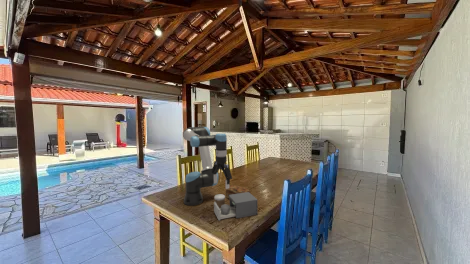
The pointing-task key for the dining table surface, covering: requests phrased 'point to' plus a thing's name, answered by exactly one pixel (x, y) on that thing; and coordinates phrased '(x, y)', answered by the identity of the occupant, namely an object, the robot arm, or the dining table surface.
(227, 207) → the grey drawer
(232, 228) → the dining table surface
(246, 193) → the grey drawer cabinet
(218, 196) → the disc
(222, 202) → the riser cube
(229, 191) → the bread
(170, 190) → the dining table surface
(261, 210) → the dining table surface
